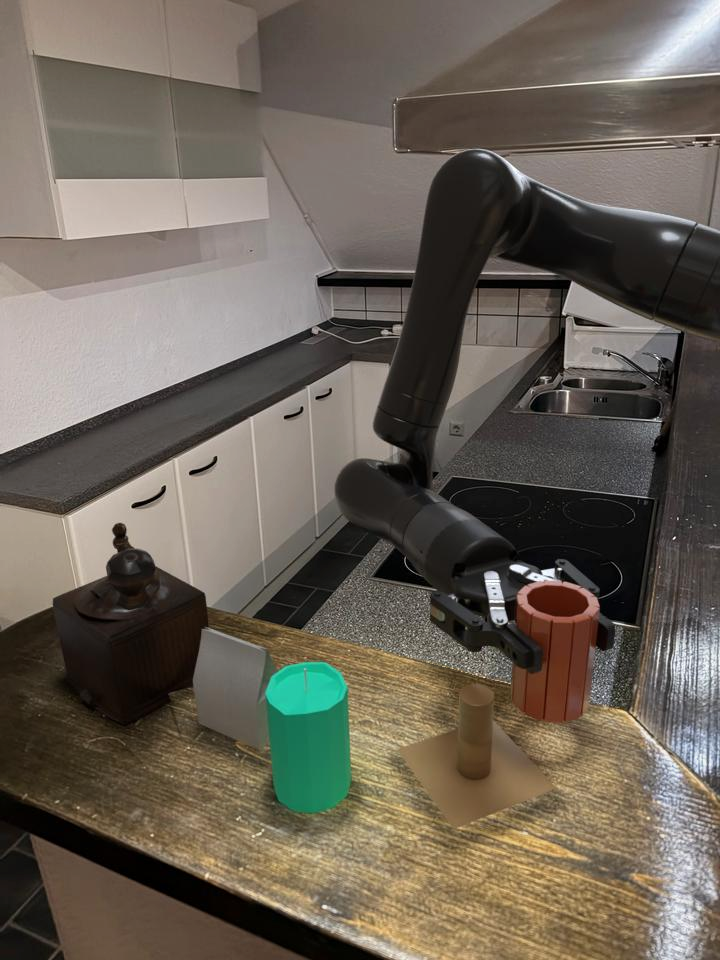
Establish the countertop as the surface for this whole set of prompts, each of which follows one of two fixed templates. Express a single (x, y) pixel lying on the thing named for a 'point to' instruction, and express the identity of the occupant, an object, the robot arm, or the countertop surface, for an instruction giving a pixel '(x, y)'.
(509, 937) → the countertop surface
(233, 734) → the tea bag
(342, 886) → the countertop surface
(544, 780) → the ring holder
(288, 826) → the countertop surface
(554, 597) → the hollow cylinder
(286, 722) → the candle
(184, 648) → the brown coffee grinder
